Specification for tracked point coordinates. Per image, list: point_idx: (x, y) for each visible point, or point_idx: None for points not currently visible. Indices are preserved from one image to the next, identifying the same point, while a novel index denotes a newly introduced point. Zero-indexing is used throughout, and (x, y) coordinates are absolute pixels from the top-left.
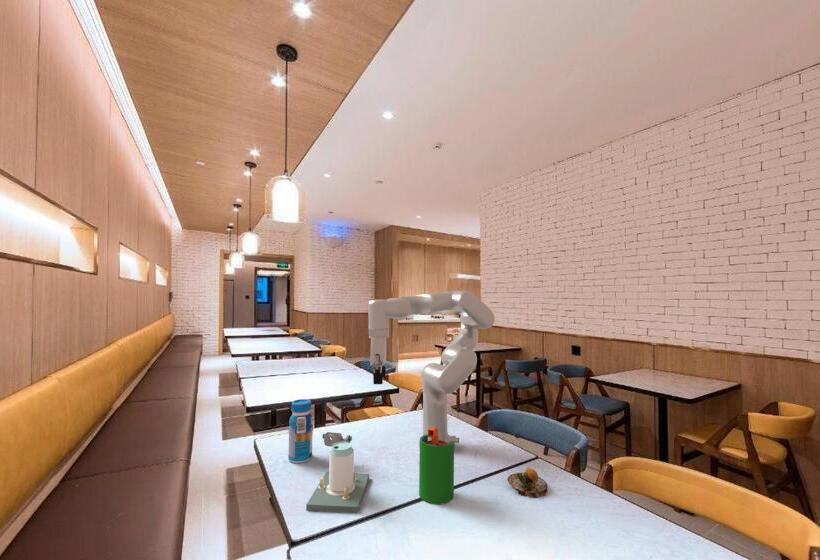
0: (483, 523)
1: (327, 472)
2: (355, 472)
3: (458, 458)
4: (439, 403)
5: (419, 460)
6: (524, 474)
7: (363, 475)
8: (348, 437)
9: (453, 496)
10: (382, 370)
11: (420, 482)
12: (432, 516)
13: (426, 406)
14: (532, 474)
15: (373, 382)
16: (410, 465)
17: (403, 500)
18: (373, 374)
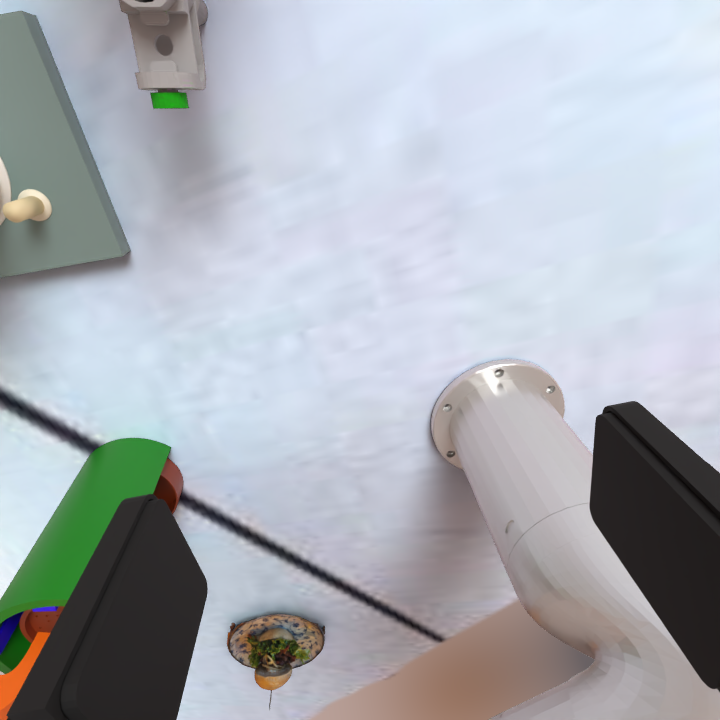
0: None
1: (20, 22)
2: (17, 222)
3: (399, 496)
4: (524, 607)
5: (72, 522)
6: (268, 663)
7: (95, 235)
8: (153, 88)
9: None
10: (667, 590)
11: (80, 479)
12: (26, 490)
13: (532, 531)
14: (257, 683)
15: (117, 513)
16: (302, 370)
17: (56, 407)
18: (39, 666)
